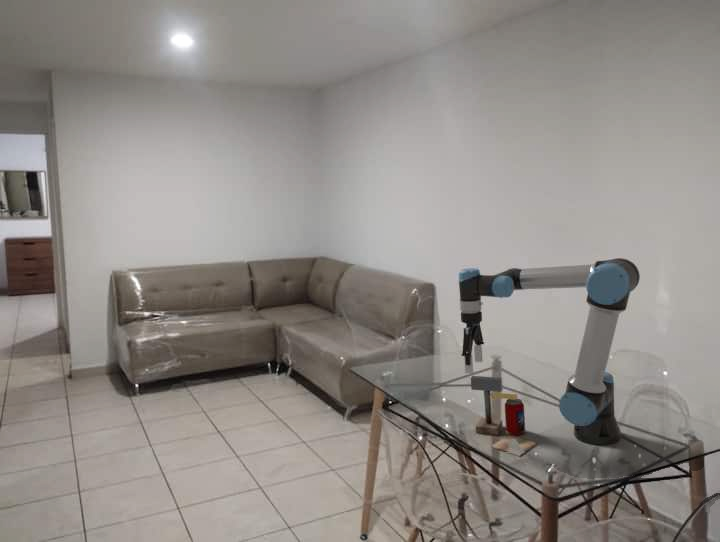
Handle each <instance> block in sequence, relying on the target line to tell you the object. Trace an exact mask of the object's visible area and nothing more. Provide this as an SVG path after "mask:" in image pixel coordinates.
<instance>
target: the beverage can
mask: <svg viewBox="0 0 720 542" xmlns="http://www.w3.org/2000/svg"><path fill="white" fill-rule="evenodd" d="M504 416H505V417H504V419H505V430H506V432H507V433H509V435H511V436H520V435H522V434H524V433H525V432H526V420H525V419H526V417H525V404H524V403H523V402H522V399H520V398H518V397H517V399H506V402H505V403H504Z"/></svg>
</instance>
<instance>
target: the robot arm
mask: <svg viewBox="0 0 720 542" xmlns="http://www.w3.org/2000/svg"><path fill="white" fill-rule="evenodd" d="M640 275H641V274H640V271H639V269H638V266H637V265H635V263H634V262H633V261H631V260H629V259H626V258H612V259H607V260H606V259H605V260H596V261H595V262H594V263H593V264H582V265H564V266H562V265H561V266H550V267H547V266H545V267H533V268H531V267H529V268H517V267H514V268H508V269H506V270H504V271H502V272H500V273H499V272H498V273H497V274H494V275H493V274H492V275H487V274H486V275H484V274H481V272H480V269H478V268H474V267H473V268H462V269H461V270H460V271H459V272H458V287H459V306H460V307H459V308H460V311H461V312H460V320H461V321H460V322H461V323H463V324H466V327H464V328H463V339H462V350H461V351H462V352H461V356H462V357H464V373H465V374H469V375H471V374H472V375H473V374H474V362H475V363H477V362H478V363H483V345H484V344H485V341H484V339H483V338H484V337H483V333H482V328H481V323H482V321H483V314H482V313H483V312H482V306H483V302H482V298H481V297H489V298H490V297H491V298H499V299H502V298H510V297H512V294H513V293H514V291H522V290H523V291H525V290H545V289H547V290H548V289H550V290H551V289H566V288H568V289H570V288H572V289H573V288H585V289H586V292H587V296H586V304H588V306H589V310H588V315H587V320H586V322H585V323H586V324H585V328H584V332H583V336H582V340H581V341H582V342H581V344H580V349H579V353H578V354H579V355H578V357H577V358H578V359H577V363H576V368H575V372H574V374H572V375H571V376H569V377H568V380H567V385H566V388H565V392H564V394H562V396H561V398H560V400H559V402H558V407H559V408H558V409H559V412H560V413H561V416H563V418H564V419H565V420H566V421H567V422H569V423H570V424H572V425H574V426H573V435H574V437H575V438H576V439H577V440H579V441H581V442H582V443H586V444H592V445H596V446H597V445H599V446H601V445H602V446H603V445H604V446H605V445H612V444H614V443H617V442H619V441H620V440H621V438H622V436H621V429H620V426H619V422H618V421H617V418H616V414H615V382H614V376H613V375H612V374H611V373H610V372H607V371H606V368H607V364H608V360H609V358H610V357H609V356H610V353H611V349H612V345H613V341H614V336H615V332H616V330H617V329H616V328H617V325H618V320H619V315H620V314H621V313H623V312H625V311H626V310H627V307H628V303H629V299H630V295H631V292H632V291H634V290H635V289H636V287H638V284H639V283H640ZM473 345H474V346H473ZM473 347H474V348H473ZM473 349H474V361H473V355H472V353H473Z"/></svg>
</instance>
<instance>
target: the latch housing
mask: <svg viewBox="0 0 720 542" xmlns="http://www.w3.org/2000/svg"><path fill="white" fill-rule="evenodd" d="M502 428H503V419H495V418H492V423H490V424H488V423H486V417H485V418H484V417H481V418H480V419H479V420H478V422H477V423H476V424H475V433H476V434H485V435H493V436H498V435H499V434H500V431H501V430H502Z"/></svg>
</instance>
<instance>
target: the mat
mask: <svg viewBox="0 0 720 542" xmlns="http://www.w3.org/2000/svg"><path fill="white" fill-rule="evenodd" d="M512 439H515V440H516V441H517V442H518V444H519V446H520V447H521V448H522V449H523V451H526V452H528V451H529V450H531V449H532V448H533V447H535V446H537V445H538V444H537V442H535V441H531V440H528V439H524V438H521V437H518V436H515V435H512V434H507V436H505V437H502V439H500V440H498V441H497V442H495V443H494V444H492V445H491V449H494V450H498V451H501V452H504V453H507V452H509V445H508V442H509V441H511V440H512Z"/></svg>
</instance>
